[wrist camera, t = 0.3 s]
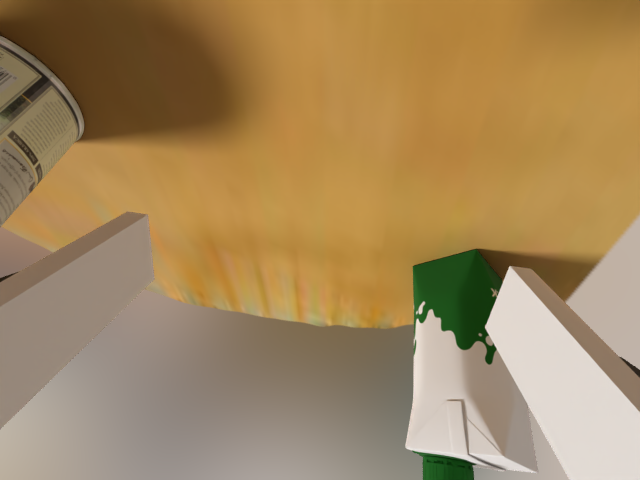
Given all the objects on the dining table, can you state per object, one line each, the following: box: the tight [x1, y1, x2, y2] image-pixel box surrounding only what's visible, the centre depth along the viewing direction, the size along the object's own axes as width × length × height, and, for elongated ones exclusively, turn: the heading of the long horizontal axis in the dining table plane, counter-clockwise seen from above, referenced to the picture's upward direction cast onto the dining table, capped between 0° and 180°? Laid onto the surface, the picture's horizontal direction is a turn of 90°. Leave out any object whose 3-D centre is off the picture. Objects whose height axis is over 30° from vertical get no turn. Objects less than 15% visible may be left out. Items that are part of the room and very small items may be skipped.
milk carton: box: [406, 249, 538, 480], centre depth 32 cm, size 9×9×20 cm
